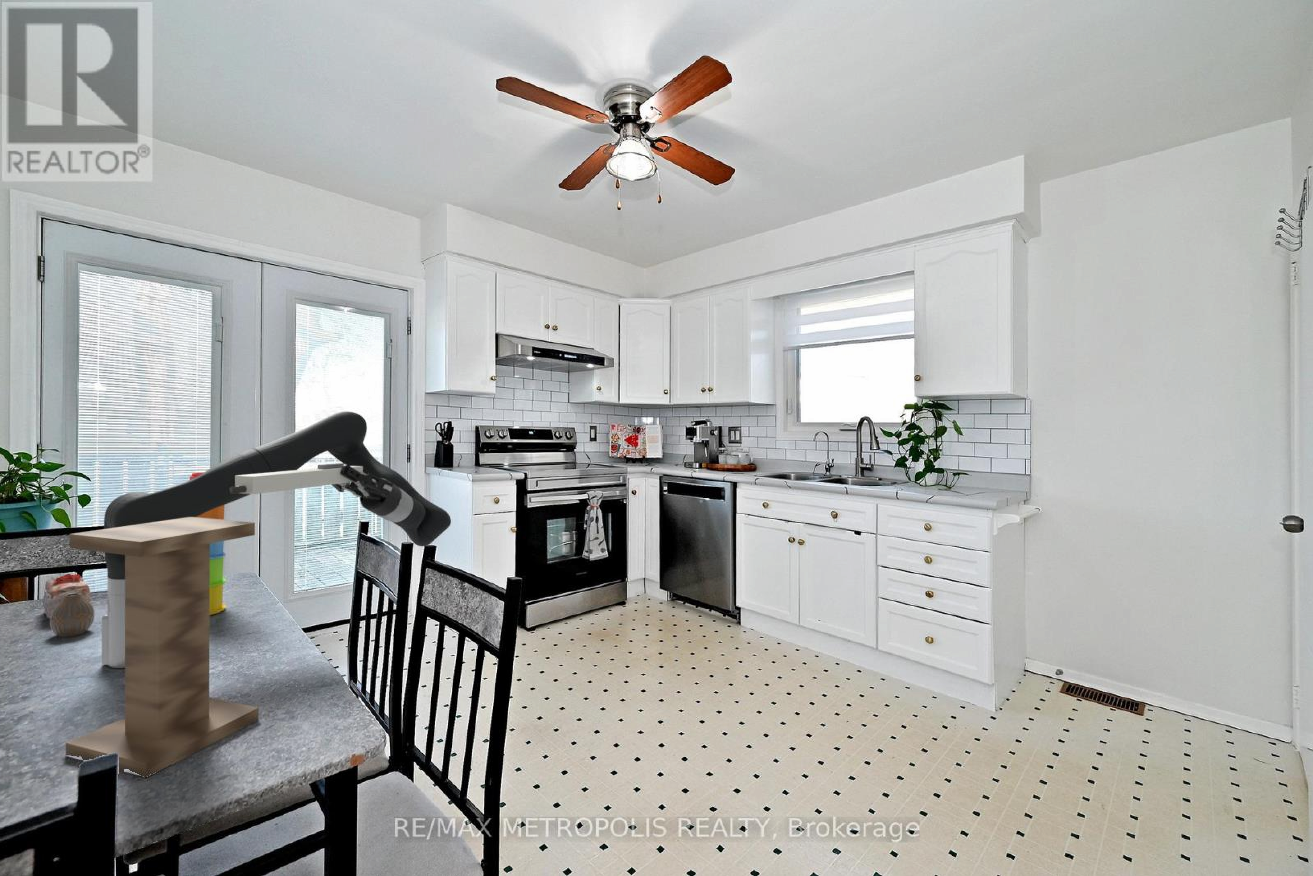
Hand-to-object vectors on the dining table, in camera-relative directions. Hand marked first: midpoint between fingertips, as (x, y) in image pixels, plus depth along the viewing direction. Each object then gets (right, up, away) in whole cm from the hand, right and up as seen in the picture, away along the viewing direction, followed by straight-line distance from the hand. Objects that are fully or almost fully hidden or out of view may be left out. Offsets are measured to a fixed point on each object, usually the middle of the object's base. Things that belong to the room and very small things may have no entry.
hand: (334, 468), depth 115 cm
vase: (-64, -37, +11) cm, 75 cm away
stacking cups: (-48, -37, +26) cm, 66 cm away
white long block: (-2, -3, -6) cm, 7 cm away
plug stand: (-9, -39, -28) cm, 49 cm away
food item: (-77, -37, +22) cm, 89 cm away
